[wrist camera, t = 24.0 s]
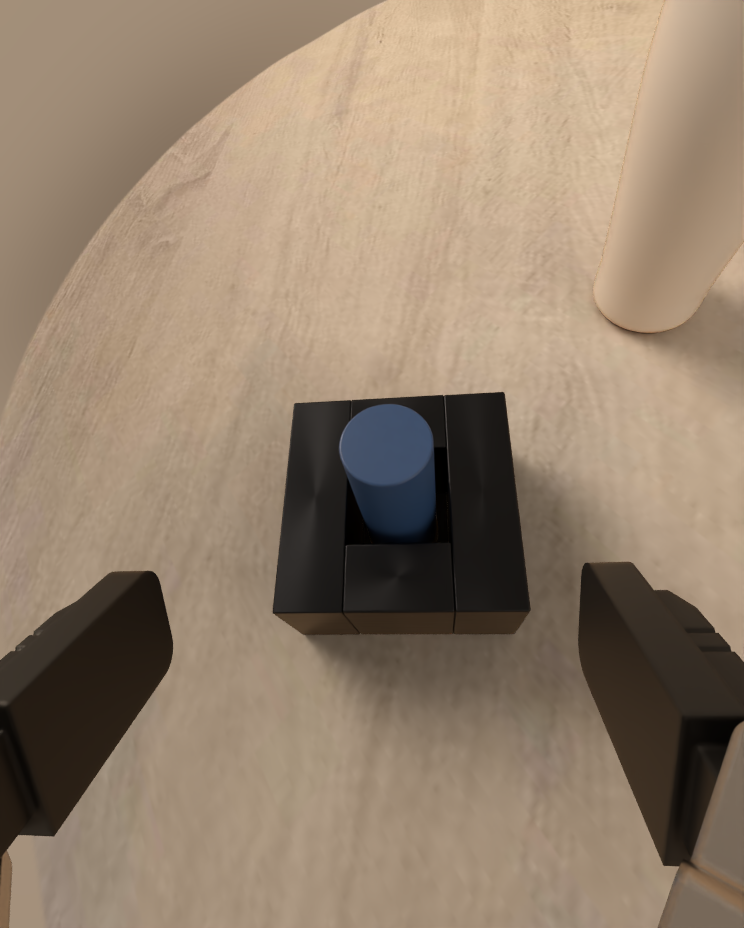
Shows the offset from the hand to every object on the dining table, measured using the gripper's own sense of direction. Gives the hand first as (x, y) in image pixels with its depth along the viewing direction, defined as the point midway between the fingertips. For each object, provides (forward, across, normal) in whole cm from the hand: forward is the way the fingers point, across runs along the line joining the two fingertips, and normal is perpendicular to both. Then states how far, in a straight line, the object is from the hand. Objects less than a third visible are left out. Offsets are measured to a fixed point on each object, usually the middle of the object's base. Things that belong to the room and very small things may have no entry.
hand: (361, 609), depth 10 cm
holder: (+13, 0, +5) cm, 14 cm away
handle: (+13, 0, +5) cm, 14 cm away
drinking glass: (+23, -13, -4) cm, 26 cm away
